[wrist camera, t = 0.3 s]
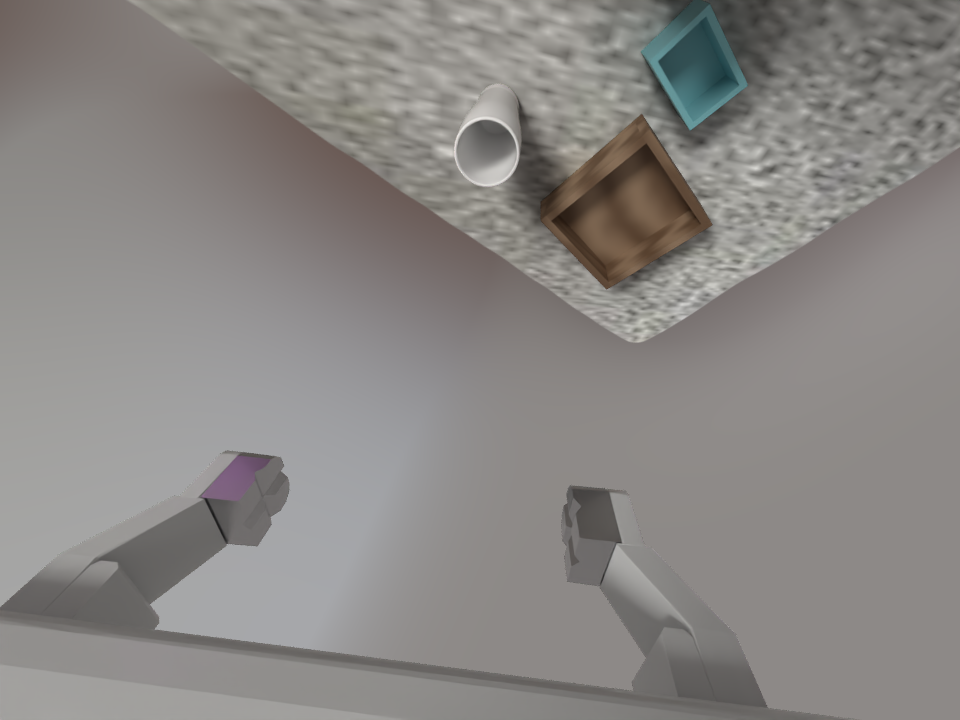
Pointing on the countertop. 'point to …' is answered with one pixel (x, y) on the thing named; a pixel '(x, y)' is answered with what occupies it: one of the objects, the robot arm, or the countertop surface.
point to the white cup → (490, 138)
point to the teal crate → (695, 64)
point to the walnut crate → (624, 206)
